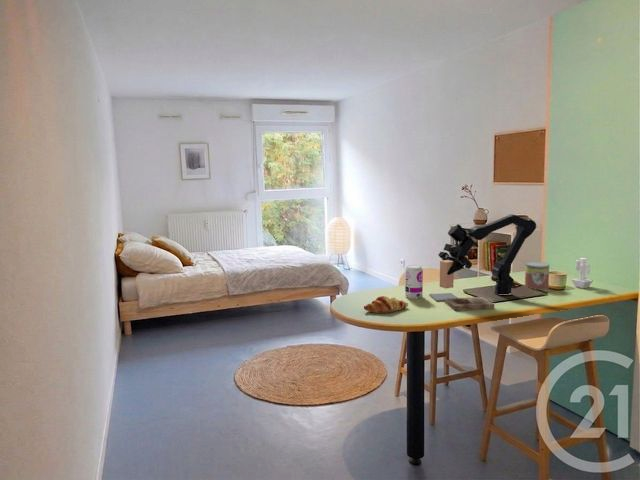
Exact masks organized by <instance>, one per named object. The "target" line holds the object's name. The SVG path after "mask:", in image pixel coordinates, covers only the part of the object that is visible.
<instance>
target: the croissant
mask: <svg viewBox="0 0 640 480" xmlns="http://www.w3.org/2000/svg"><path fill="white" fill-rule="evenodd" d="M408 307H409V303H408V302H405V301H404V300H402V299H401V300H399V299H397V298H396V297H391V298H390V297H388V296H387V295H385V296H384V295H383V296H378V297H376V298H375V299H374V300H373V301H371V303H367V304H366V305H363V309H364V310H365V311H367V312H370V313H373V314H374V313H375V314H387V313H388V312H390V313H395V312H397V311H398V310H399V311H401V310H402V309H404V310H405V309H407V308H408ZM388 314H389V313H388Z"/></svg>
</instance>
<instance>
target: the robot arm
mask: <svg viewBox="0 0 640 480" xmlns="http://www.w3.org/2000/svg"><path fill="white" fill-rule="evenodd" d="M512 224H513V225H515V226H516V230H515V231H516V232H515V233H516V234H515V236H514V237H513V239H512V242H511V243H510V245H509V247H508V248H507V250H506V252H505V254H504V256H503V257H502V258H501V260H500V261H495V262H494V265H493V266H492V267H491V269H492V270H491V276H492V275H493V276H494V277H495V280H494V281H496V280H497V281H496V282H495V285H494V287H495V288H494V292H495V294H496V293H497V294H496V295H498V294H509V293H511V294H512V287H511V284H512V283H513V281H515V280H514V278H513V277H512V276H511V275H510V274H511V270H512V263H514V260H515V259H516V257H517V255H518V253H519V251H520V250H521V248H522V247H523V244H524V243H525V241H526V239H527V238H529V237H531V235H532V234H533V233H534V232H535V230H536V229H537V223H536V222H535V220H533V219H528V218H524V217H520V216H517V215H516V214H512V213H511V214H510V213H509V214H507V215H506V216H502V217H501V218H499V219H496V220H494V221H491V222H489V223H487V224H483V225H475V226H472V227H470V229H466V230H465V229H464V228H463V227H462V226H461V224H456V225H455V226H452V228H450V229H449V230H448V232H447V234H448V236H449V237H451V239H453V241H455V243H454V244H450V243H445V244H444V248H443V251H439V253H438V254H437V255H438V257H439V258H440V259H441V261H443V260H450V261H453V265H452V266H451V268H450V269H449V271H448V273H447V274H448V275H450V274H452V273H454V274H455V273H456V272H457V271H460V270H464V269H469V270H470V269H471V268H472V266H473V262H471V260H470V259H469V258H468V257H469V256H470V254H469V252H471V250H472V248H479V244H478V243H479V242H478V241H482V240H483V239H485V238H486V237H488V236H489V234H492V233H494V232H496V231H498V230H500V229H503V228H505V227H507V226H510V225H512ZM475 240H476V241H475ZM458 242H459V243H458ZM456 243H458V244H456Z"/></svg>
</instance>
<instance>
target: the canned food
mask: <svg viewBox="0 0 640 480" xmlns="http://www.w3.org/2000/svg"><path fill="white" fill-rule="evenodd" d="M524 274H525V275H524V287H525V286H527V287H531V288H535V289H534V290H536V289H539V290H538V291H541V290H542V291H543V290H549V288H548V287H549V282H550V264H549V263H546V262H542V261H539V262H538V261H531V262H530V261H529V262H526V263H525V273H524Z"/></svg>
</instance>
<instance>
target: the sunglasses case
mask: <svg viewBox="0 0 640 480" xmlns="http://www.w3.org/2000/svg"><path fill="white" fill-rule="evenodd" d="M490 279H491V281H492V280H493V281H497V280H495V277H494V276H493V275H492V274H491V277H490ZM515 285H522V284H521V283H519V282H518V281H516V280H514V281H513V283H512V284H511V286H515Z"/></svg>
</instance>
